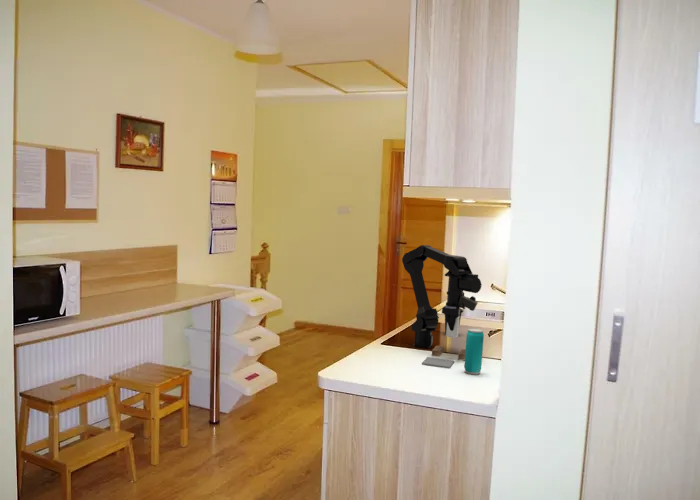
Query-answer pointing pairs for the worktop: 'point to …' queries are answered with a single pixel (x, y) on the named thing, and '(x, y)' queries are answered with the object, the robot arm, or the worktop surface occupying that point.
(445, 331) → the cup
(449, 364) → the pad
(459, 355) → the vise
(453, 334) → the pale grey block
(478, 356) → the beverage can
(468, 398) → the worktop surface
